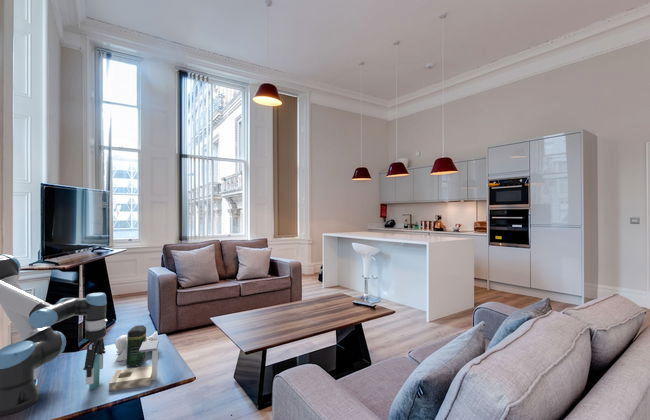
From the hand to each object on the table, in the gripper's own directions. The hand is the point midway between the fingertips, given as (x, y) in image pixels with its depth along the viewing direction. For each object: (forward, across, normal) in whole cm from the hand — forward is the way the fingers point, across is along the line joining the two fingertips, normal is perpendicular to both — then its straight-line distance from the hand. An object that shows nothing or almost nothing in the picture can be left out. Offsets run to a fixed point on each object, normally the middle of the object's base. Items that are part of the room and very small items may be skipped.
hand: (94, 376), depth 143 cm
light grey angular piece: (+5, 0, -22) cm, 22 cm away
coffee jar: (+5, +20, -13) cm, 24 cm away
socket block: (+5, 0, -15) cm, 16 cm away
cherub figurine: (+5, +31, -11) cm, 33 cm away
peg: (+5, 0, 0) cm, 5 cm away
